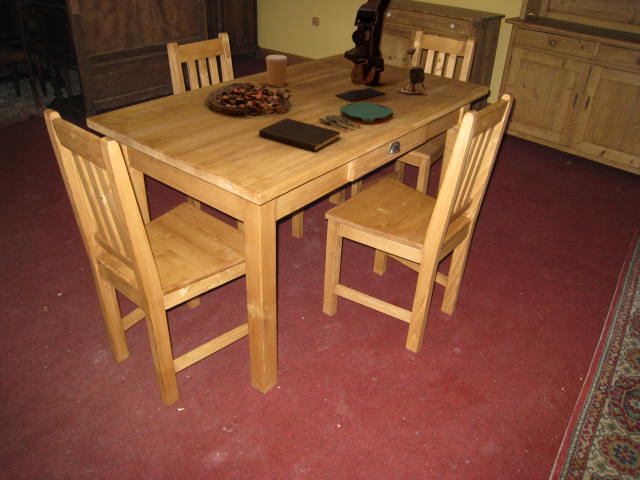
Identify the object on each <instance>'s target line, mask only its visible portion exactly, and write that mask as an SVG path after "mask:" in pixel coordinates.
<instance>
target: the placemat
mask: <svg viewBox="0 0 640 480" xmlns="http://www.w3.org/2000/svg"><path fill="white" fill-rule="evenodd" d="M384 95H386V92H383V91H380V90H377V89H373V88H372V87H367V88H362V89H358V90H357V89H356V90H353V91H348V92H341V93H338V94H336V95H335V97H337V98H340V99H342V100H345V101H348V102H351V103H353V102H359V101H362V100H367V99H371V98H375V97H379V96H384Z"/></svg>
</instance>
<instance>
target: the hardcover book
mask: <svg viewBox="0 0 640 480" xmlns="http://www.w3.org/2000/svg"><path fill="white" fill-rule="evenodd" d="M340 134H341V131H338V130H334V129H330V128H327V127H323V126H319V125H315V124H311V123H307V122H304V121H299V120H295V119H292V118H289V117H286V118H283V119H282V120H279V121H277V122H274V123H272V124H270V125H268V126H265V127H262V128H261V129H259V131H258V135H259V137H262V138H266V139H269V140H272V141H276V142H279V143H283V144H286V145H290V146H294V147H297V148H300V149H304V150H308V151H310V152H311V151H312V152H318V151H320V150H321V149H324V148H325V147H327V146H329V145H330V144H332V143H334V142H336V141H338V140H340V139H341V137H340Z"/></svg>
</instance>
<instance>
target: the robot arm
mask: <svg viewBox="0 0 640 480" xmlns="http://www.w3.org/2000/svg"><path fill="white" fill-rule="evenodd" d="M393 2H394V1H393V0H367V1H366V2H365V3H362V4H361V5H360V6H359V7H358V9H357V11H356V16H355V19H354V24H353V26H354V27H356V29H355V30H354V31H353V32H352V34H351V40H352V42H353V43H354V47H352V48H350V49H349V50H346V51H345V52H344V54H343V58H344V59H347V61H350V62H351V63H353V64H354V66H355V65H358V64H361V63H364V62H365V64H362V65H363V67H364V74H363V78H364V80H366V78H367V77H368V75H369V73H370V71H371V70H372V68H373V67H376V73H375V76H374V78H373V80H372V81H371V82H369V83H366V84H365V85H367V86H370V87H377V86H380V85H381V86H382V85H383V82H381V73H384V72H385V59H384V58H383V57H384V54H383V51H382V49H381V47H382V40H383V33H384V27H385V21H386V15H387V12H389V10H390V9H391V5H392V3H393Z"/></svg>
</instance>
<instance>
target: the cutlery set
mask: <svg viewBox="0 0 640 480" xmlns="http://www.w3.org/2000/svg"><path fill="white" fill-rule="evenodd" d="M339 111H340V113H341V114H344V115H345V116H347V117H349V118H352V119H355V120H361V121H363V122H364V123H365V124H366V125H367V124H370V123H372V122H373V121H379V120H380V121H381V120H384V119H388V118H390V117H392V116H393V115H394V111H393V109H392V108H389V107H387V106H384V105H382V104H378V103H375V102H370V101H355V102H354V103H353V102H351V103H348V104H345V105H342V106H341V107H340V110H339ZM324 117H325V119H324V118H322V117H321V118H318V121H321V122H322V123H324V124H327V125H330V124H331V125H333V126H335V127H337V128H341V129H343V130H346V131H347V130H348V129H349V127H351V128H355V126H356V125H357V126H358V127H361V124H359V123H356V122H354V121H352V120H350V119H348V118H344V117H342V116H339V115H336V114H331V115H325V116H324ZM341 120H342V121H341ZM335 122H336V123H335ZM339 123H340V124H339ZM341 124H343V125H341ZM348 126H349V127H348Z"/></svg>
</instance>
